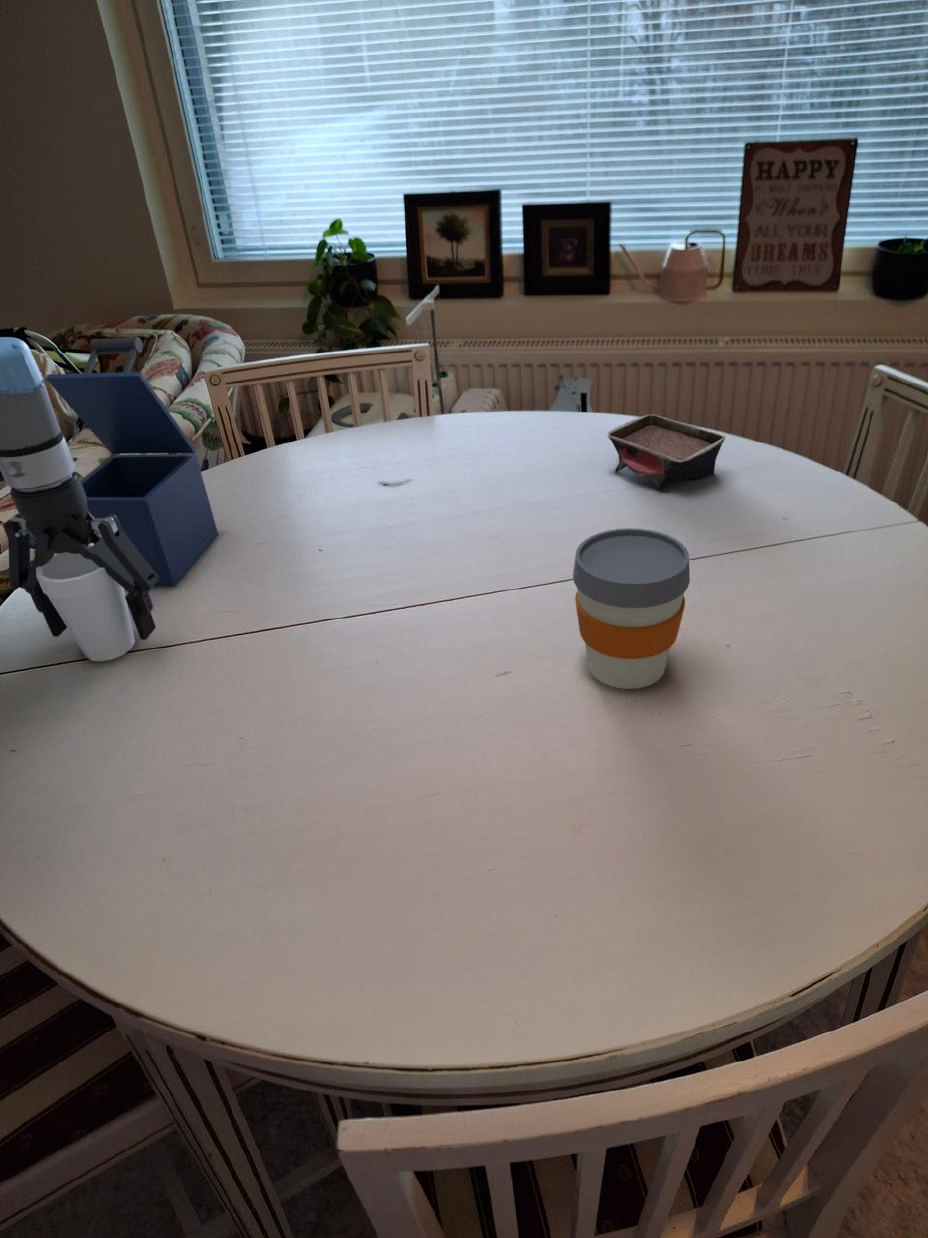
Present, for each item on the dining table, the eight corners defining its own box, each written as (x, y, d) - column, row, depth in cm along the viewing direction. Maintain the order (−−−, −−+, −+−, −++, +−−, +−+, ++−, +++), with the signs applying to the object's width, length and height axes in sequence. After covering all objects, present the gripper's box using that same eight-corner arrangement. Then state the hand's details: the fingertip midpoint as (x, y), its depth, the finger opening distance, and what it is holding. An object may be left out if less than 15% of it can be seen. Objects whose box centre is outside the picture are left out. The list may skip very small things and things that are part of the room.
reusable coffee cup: (551, 673, 94) (550, 563, 86) (608, 623, 102) (612, 517, 94) (646, 714, 87) (654, 598, 79) (700, 656, 95) (712, 545, 87)
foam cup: (160, 629, 109) (131, 545, 101) (121, 671, 101) (87, 584, 94) (99, 624, 111) (66, 541, 103) (57, 665, 103) (18, 579, 96)
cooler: (174, 586, 118) (146, 500, 110) (88, 584, 120) (54, 500, 112) (218, 534, 131) (196, 453, 123) (139, 533, 133) (112, 454, 125)
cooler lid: (138, 376, 107) (155, 326, 111) (45, 378, 110) (64, 330, 113) (194, 453, 123) (207, 407, 126) (111, 453, 125) (126, 408, 129)
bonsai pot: (663, 512, 130) (679, 457, 123) (592, 464, 141) (602, 410, 134) (724, 492, 136) (741, 438, 130) (651, 447, 147) (664, 396, 141)
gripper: (-71, 493, 92) (4, 646, 104) (121, 493, 87) (176, 652, 100) (-28, 466, 98) (38, 613, 110) (154, 465, 94) (202, 618, 106)
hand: (104, 632), depth 105 cm, fingers open, 12 cm apart
